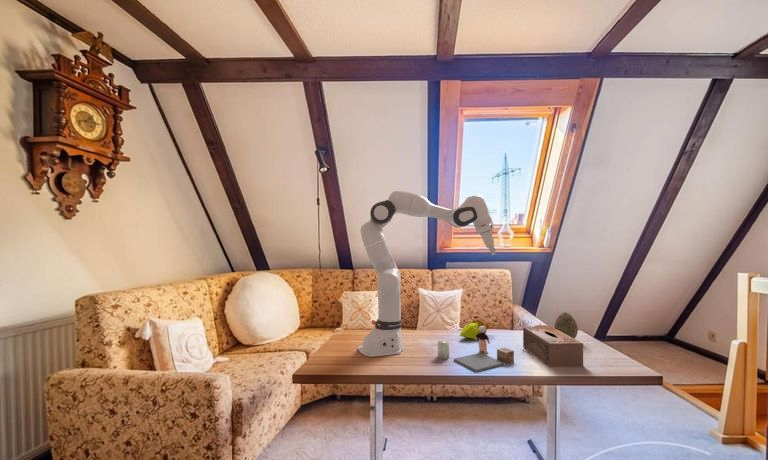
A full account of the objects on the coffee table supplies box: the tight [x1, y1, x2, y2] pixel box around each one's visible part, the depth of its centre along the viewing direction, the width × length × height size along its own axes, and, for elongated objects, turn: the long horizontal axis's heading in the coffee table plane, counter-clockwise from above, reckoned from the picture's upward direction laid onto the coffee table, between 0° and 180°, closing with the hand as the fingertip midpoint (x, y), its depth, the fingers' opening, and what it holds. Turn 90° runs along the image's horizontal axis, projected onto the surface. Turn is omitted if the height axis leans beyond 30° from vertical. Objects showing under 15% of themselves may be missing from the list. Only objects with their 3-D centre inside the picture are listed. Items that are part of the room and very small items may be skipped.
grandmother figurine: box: [474, 326, 491, 355], centre depth 163 cm, size 8×4×13 cm, turn 56°
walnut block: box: [496, 347, 515, 365], centre depth 152 cm, size 5×5×5 cm
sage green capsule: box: [437, 339, 450, 360], centre depth 157 cm, size 5×5×7 cm
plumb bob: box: [459, 319, 495, 340], centre depth 187 cm, size 9×9×25 cm
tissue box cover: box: [522, 326, 584, 368], centre depth 159 cm, size 26×14×10 cm, turn 2°
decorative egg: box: [553, 311, 579, 339], centre depth 180 cm, size 11×11×15 cm
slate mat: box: [453, 352, 505, 373], centre depth 150 cm, size 16×14×1 cm
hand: (493, 253), depth 168 cm, fingers open, 8 cm apart
